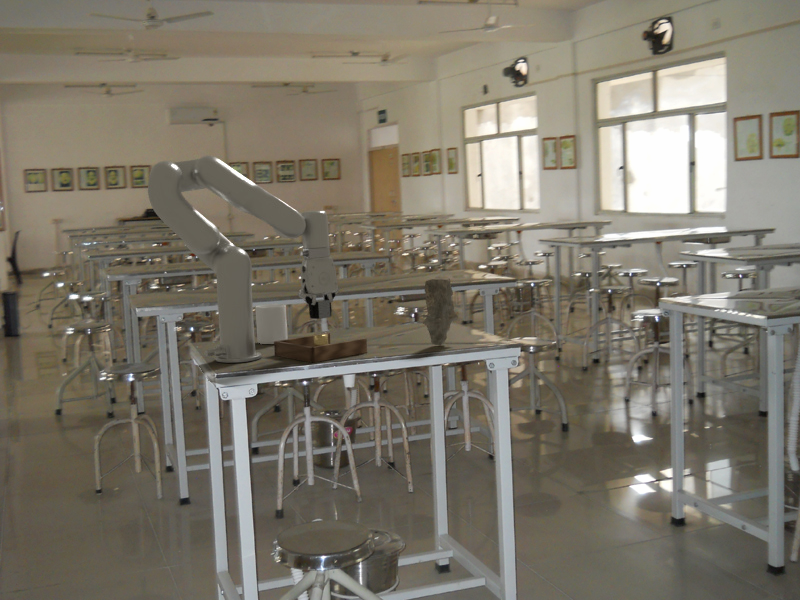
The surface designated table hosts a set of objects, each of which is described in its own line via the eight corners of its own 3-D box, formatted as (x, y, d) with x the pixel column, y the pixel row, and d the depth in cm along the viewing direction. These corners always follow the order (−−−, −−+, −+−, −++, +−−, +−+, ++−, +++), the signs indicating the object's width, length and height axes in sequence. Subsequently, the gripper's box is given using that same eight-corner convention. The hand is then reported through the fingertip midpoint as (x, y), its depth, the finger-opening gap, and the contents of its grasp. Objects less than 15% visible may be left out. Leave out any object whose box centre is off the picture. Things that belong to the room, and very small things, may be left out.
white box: (259, 346, 251) (257, 308, 249) (254, 340, 262) (252, 304, 261) (290, 343, 254) (288, 306, 252) (283, 338, 265) (281, 302, 264)
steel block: (319, 319, 232) (318, 301, 232) (311, 318, 235) (310, 301, 235) (330, 317, 235) (329, 300, 234) (322, 316, 238) (321, 299, 237)
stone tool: (427, 348, 233) (425, 279, 231) (418, 346, 238) (415, 278, 236) (463, 344, 239) (461, 276, 237) (453, 341, 244) (451, 275, 242)
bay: (312, 362, 219) (311, 347, 218) (274, 355, 233) (274, 341, 232) (367, 352, 231) (366, 338, 231) (328, 346, 245) (327, 332, 245)
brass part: (320, 357, 226) (319, 336, 225) (311, 356, 229) (310, 335, 228) (331, 355, 229) (330, 334, 228) (323, 354, 232) (322, 333, 231)
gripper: (299, 256, 225) (304, 322, 227) (347, 251, 236) (351, 314, 238) (284, 256, 230) (289, 320, 233) (332, 251, 241) (336, 312, 243)
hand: (320, 316), depth 235 cm, fingers closed on steel block, 4 cm apart
